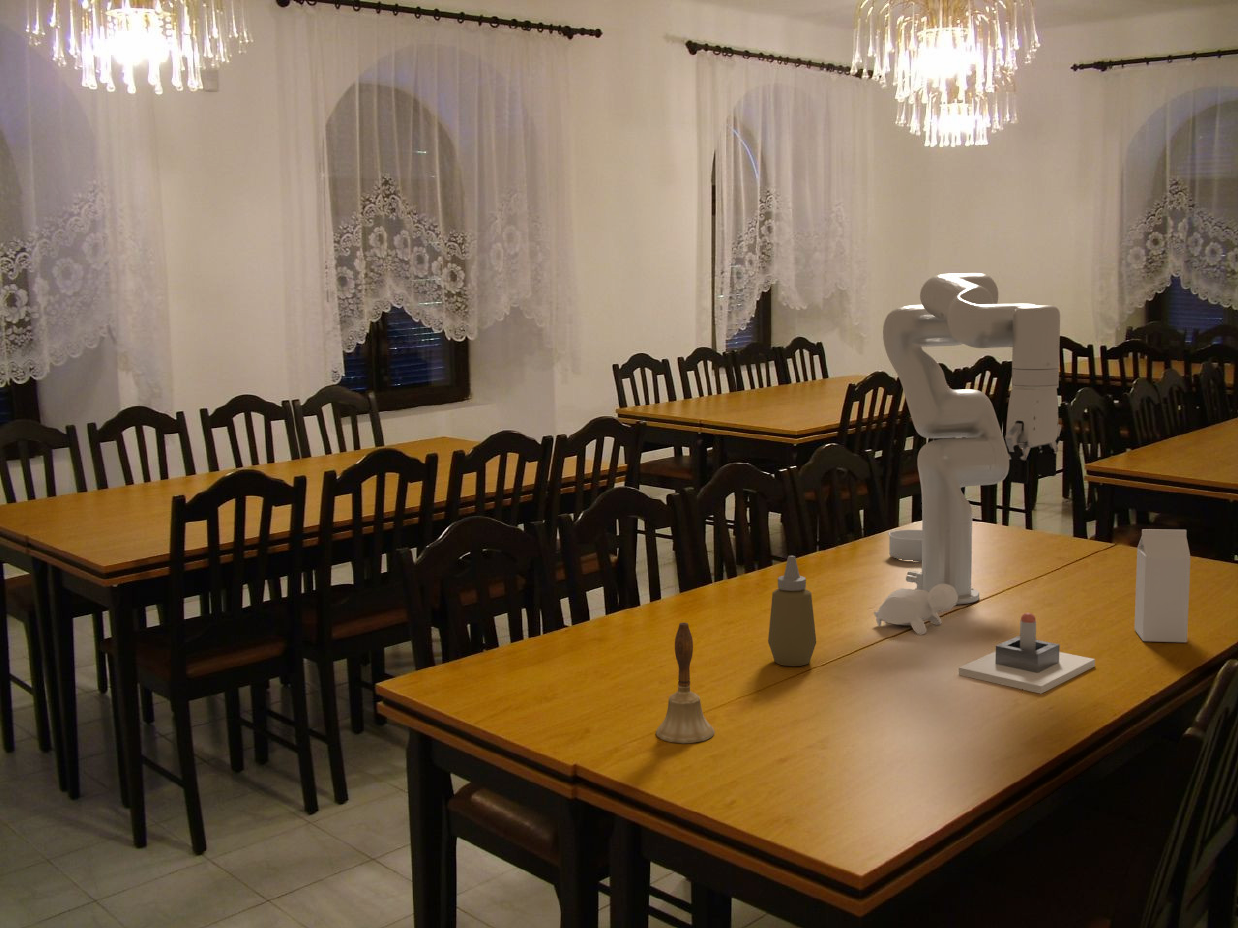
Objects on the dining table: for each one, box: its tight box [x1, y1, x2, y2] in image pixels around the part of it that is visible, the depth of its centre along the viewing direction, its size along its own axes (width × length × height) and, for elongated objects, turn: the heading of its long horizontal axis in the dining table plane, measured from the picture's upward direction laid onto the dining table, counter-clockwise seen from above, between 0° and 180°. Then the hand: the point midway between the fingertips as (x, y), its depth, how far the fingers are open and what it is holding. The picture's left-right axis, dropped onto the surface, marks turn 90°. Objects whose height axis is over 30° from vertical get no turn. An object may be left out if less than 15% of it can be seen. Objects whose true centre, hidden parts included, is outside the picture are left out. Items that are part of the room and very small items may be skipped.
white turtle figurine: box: [873, 584, 958, 636], centre depth 224 cm, size 9×8×15 cm
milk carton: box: [1134, 528, 1191, 643], centre depth 213 cm, size 7×7×19 cm
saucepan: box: [887, 528, 922, 561], centre depth 276 cm, size 12×20×6 cm, turn 43°
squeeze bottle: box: [767, 555, 817, 667], centre depth 205 cm, size 8×8×18 cm
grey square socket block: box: [995, 635, 1060, 673], centre depth 198 cm, size 7×7×3 cm
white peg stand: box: [958, 612, 1096, 695], centre depth 198 cm, size 14×18×10 cm
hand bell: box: [655, 622, 716, 744], centre depth 174 cm, size 8×8×16 cm
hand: (1032, 479), depth 211 cm, fingers open, 9 cm apart
